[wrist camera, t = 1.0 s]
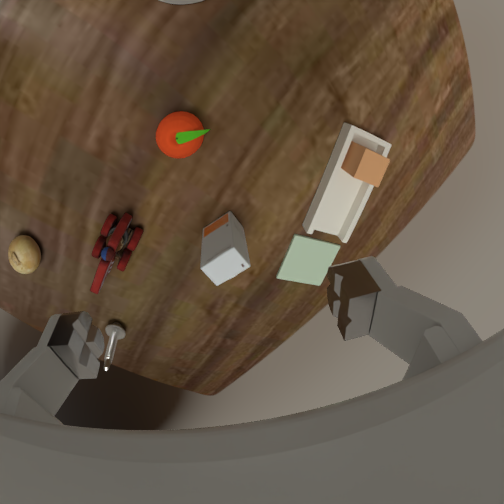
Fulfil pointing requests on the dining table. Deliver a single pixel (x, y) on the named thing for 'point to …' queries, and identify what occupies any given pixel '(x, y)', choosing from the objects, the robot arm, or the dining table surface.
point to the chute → (342, 187)
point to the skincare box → (224, 249)
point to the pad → (307, 260)
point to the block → (365, 164)
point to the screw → (112, 341)
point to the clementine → (180, 134)
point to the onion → (24, 254)
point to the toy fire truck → (114, 247)
